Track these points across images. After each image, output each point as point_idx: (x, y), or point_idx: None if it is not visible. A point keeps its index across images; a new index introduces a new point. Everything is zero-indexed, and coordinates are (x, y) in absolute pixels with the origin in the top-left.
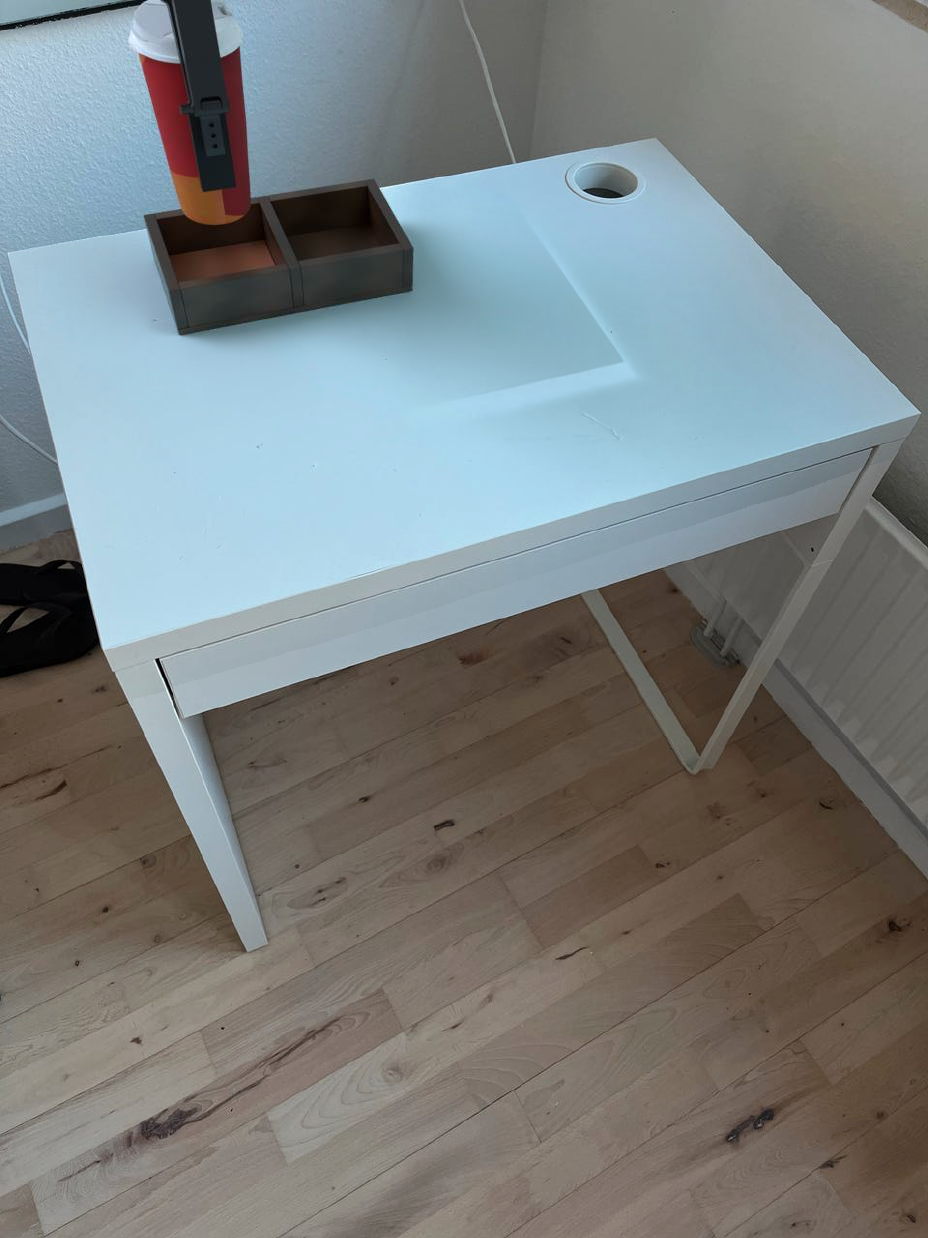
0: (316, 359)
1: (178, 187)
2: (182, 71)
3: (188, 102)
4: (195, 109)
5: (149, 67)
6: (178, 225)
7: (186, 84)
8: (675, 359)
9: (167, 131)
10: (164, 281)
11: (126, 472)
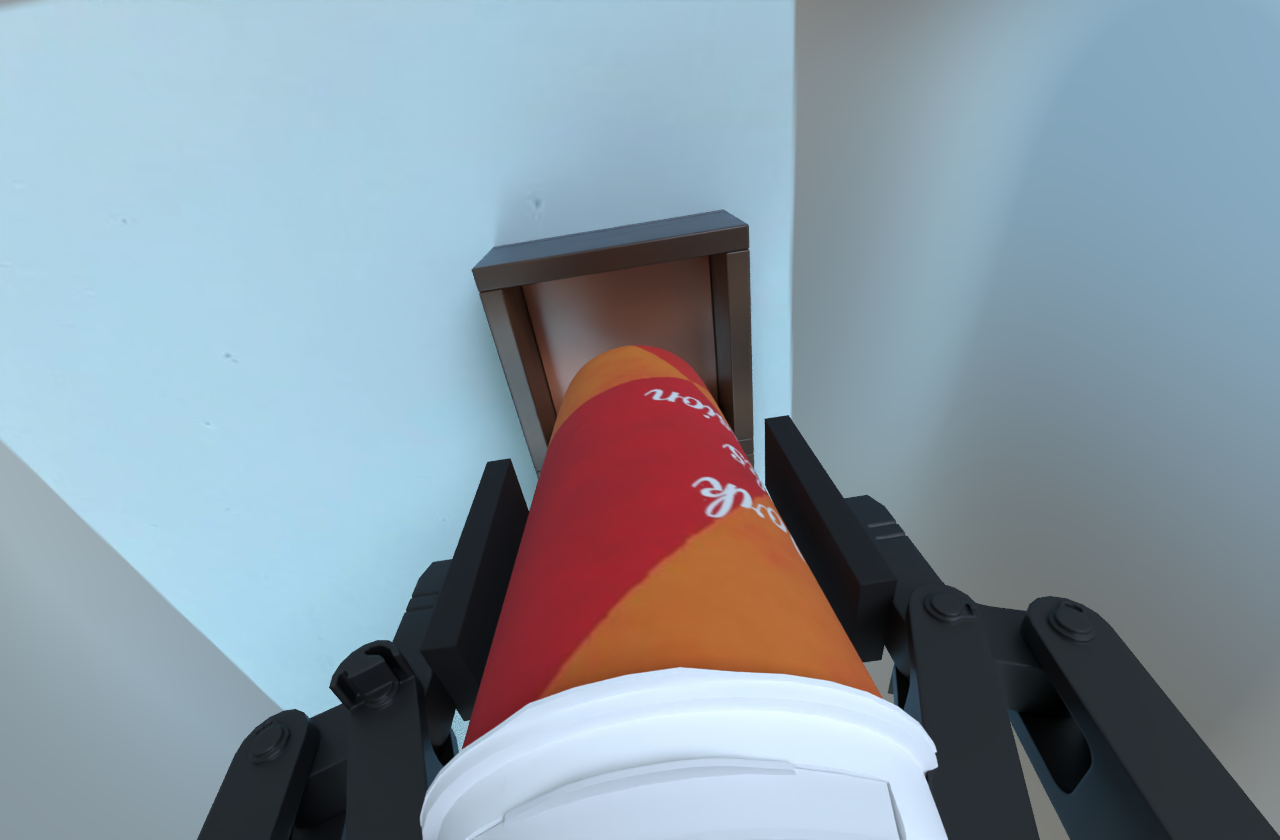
0: (439, 444)
1: (590, 382)
2: (393, 801)
3: (368, 701)
4: (233, 758)
5: (537, 655)
6: (723, 289)
7: (347, 776)
8: (456, 728)
9: (562, 477)
10: (535, 254)
11: (93, 126)
